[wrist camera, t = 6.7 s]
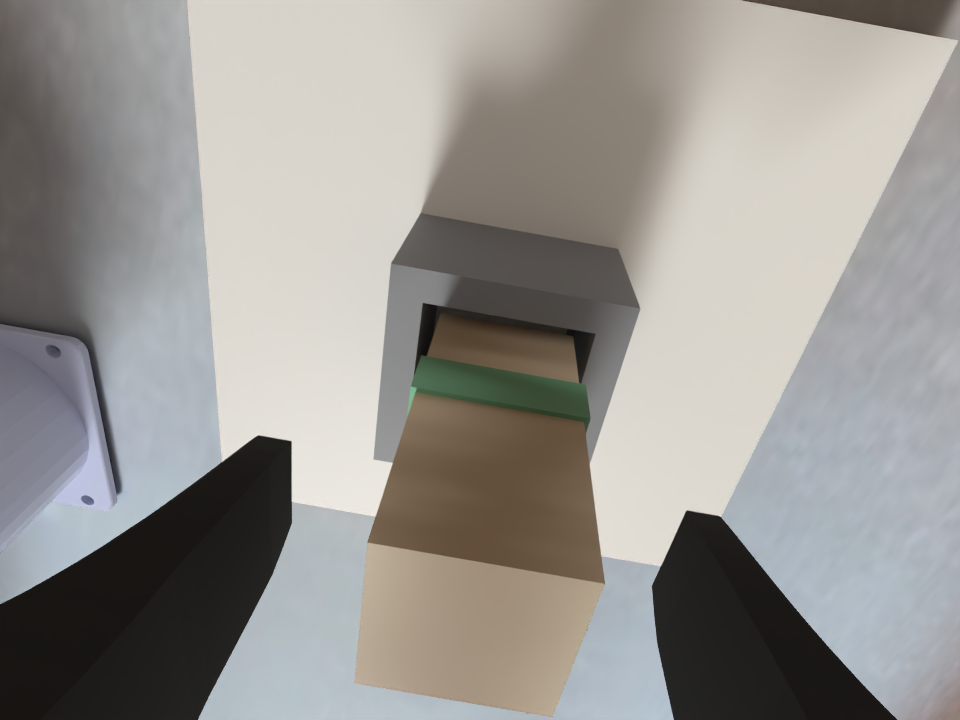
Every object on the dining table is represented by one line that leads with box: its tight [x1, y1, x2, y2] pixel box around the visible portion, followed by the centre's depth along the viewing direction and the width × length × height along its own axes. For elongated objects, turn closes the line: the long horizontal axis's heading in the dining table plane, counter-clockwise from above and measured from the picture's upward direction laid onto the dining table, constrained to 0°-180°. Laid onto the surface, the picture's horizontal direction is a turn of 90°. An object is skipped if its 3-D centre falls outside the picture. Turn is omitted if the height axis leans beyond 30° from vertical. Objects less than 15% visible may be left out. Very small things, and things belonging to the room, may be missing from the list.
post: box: [355, 313, 605, 717], centre depth 12 cm, size 3×3×7 cm
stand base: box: [187, 0, 958, 566], centre depth 17 cm, size 18×18×5 cm
